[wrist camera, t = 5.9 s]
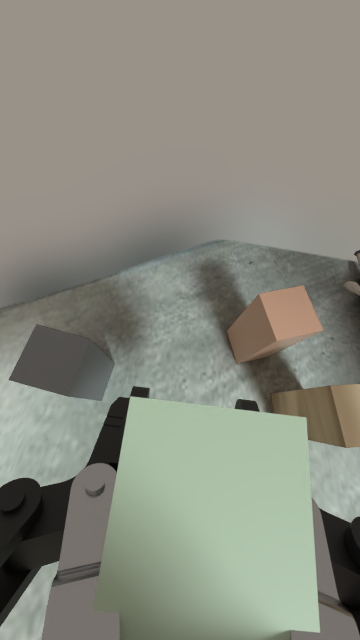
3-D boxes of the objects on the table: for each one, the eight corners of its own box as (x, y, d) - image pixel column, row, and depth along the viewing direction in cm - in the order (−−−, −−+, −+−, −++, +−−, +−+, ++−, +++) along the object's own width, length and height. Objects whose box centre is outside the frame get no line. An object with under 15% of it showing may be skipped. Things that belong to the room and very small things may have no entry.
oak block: (305, 391, 27) (381, 382, 18) (313, 430, 26) (401, 443, 17) (270, 393, 27) (330, 385, 18) (277, 433, 26) (346, 447, 16)
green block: (216, 412, 15) (306, 417, 6) (212, 488, 14) (322, 670, 4) (151, 404, 15) (130, 396, 5) (140, 480, 13) (86, 647, 4)
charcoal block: (114, 363, 27) (90, 339, 17) (101, 400, 25) (67, 396, 16) (79, 353, 27) (36, 324, 17) (64, 390, 25) (8, 379, 16)
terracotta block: (257, 324, 30) (303, 285, 20) (269, 356, 28) (323, 330, 19) (226, 330, 29) (259, 293, 20) (237, 363, 28) (276, 340, 18)
